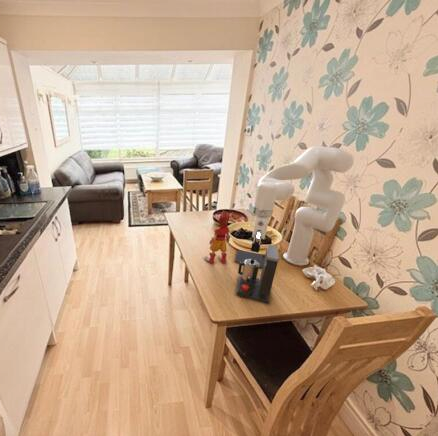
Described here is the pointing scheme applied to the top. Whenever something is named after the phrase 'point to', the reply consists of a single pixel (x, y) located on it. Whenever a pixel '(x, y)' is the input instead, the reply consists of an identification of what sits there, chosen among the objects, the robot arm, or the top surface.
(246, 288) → the power button
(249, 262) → the kettle
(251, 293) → the coffee maker
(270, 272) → the brewer column
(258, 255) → the plate
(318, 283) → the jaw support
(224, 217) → the toy
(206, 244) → the top surface
